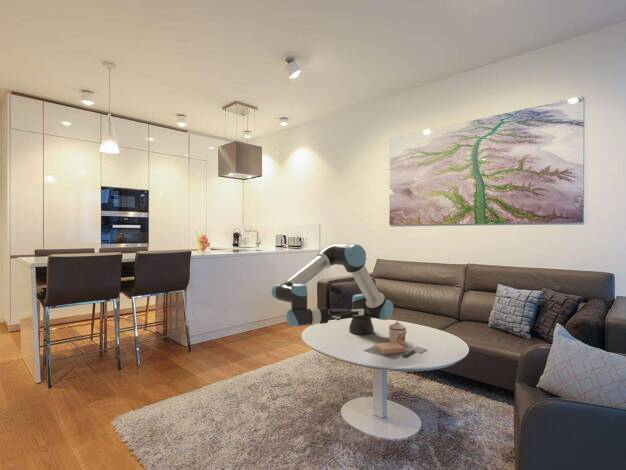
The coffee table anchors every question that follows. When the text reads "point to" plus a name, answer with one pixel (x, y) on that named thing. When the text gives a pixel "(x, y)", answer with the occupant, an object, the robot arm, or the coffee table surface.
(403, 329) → the teacup with lid
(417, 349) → the turner
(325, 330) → the coffee table surface
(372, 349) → the mat
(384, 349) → the tile
